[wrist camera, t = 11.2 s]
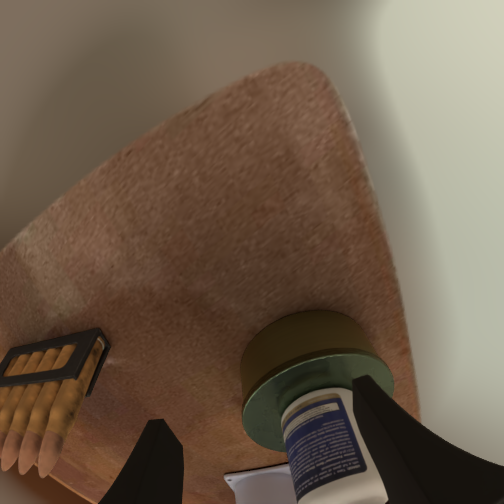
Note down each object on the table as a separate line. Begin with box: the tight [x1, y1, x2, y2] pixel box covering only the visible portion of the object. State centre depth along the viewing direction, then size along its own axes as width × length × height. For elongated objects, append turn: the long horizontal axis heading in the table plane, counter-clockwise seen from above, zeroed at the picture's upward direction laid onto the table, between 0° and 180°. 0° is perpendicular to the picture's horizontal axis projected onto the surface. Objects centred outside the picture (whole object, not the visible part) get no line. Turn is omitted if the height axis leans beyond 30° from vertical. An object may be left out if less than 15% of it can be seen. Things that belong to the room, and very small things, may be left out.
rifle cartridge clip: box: [0, 328, 111, 478], centre depth 16 cm, size 11×2×12 cm, turn 106°
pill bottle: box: [281, 388, 388, 504], centre depth 15 cm, size 5×5×10 cm
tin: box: [240, 310, 394, 452], centre depth 21 cm, size 10×10×5 cm
